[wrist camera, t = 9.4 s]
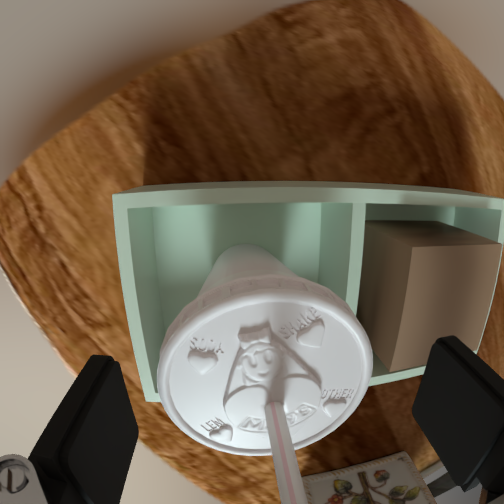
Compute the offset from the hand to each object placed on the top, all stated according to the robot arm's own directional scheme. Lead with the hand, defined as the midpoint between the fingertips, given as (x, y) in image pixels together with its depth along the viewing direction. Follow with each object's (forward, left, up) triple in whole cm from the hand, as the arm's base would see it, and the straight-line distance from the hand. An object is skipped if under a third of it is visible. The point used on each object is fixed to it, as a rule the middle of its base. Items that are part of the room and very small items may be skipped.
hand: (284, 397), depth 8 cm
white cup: (0, 0, -10) cm, 10 cm away
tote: (-4, 0, -10) cm, 11 cm away
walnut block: (-9, 0, -10) cm, 13 cm away
